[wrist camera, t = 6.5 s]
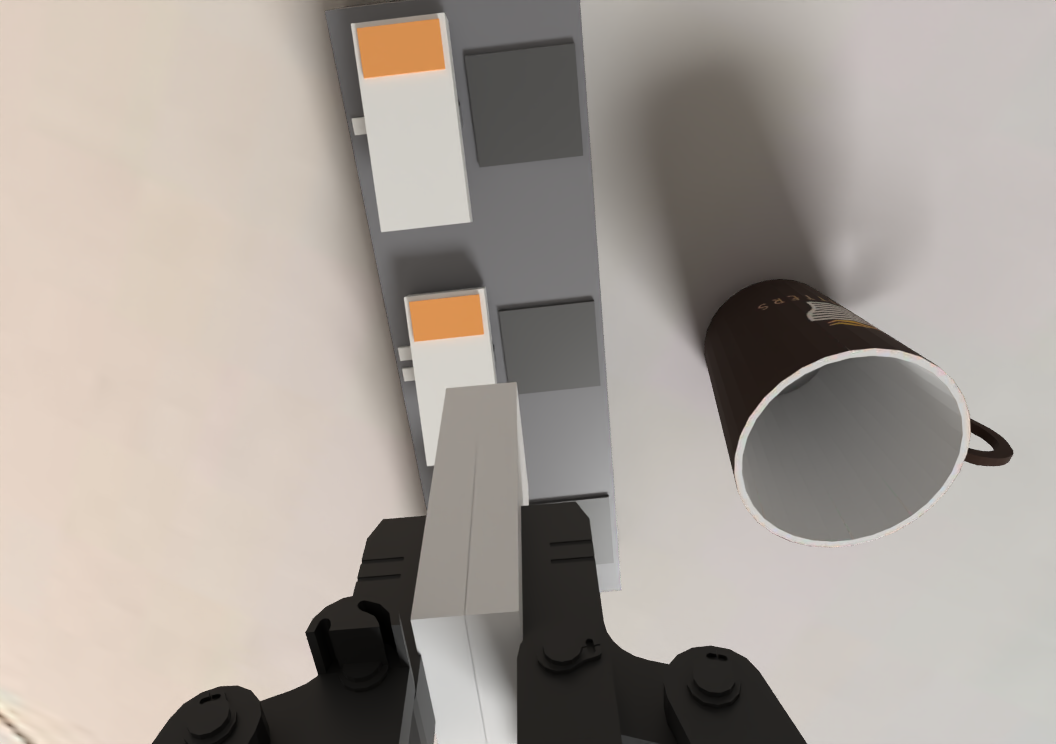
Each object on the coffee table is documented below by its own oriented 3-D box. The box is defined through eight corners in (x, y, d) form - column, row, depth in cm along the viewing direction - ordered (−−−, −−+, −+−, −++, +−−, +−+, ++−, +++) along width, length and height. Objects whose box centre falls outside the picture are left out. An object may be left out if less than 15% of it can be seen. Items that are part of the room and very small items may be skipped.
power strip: (343, 7, 31) (319, 11, 27) (571, -21, 31) (580, -20, 27) (471, 666, 47) (467, 728, 43) (621, 651, 47) (631, 713, 43)
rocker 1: (358, 31, 28) (349, 22, 26) (448, 20, 28) (444, 11, 26) (387, 231, 29) (380, 232, 28) (472, 221, 29) (469, 222, 28)
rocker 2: (408, 295, 32) (403, 297, 31) (485, 286, 32) (483, 288, 31) (430, 458, 34) (426, 467, 32) (505, 450, 34) (504, 459, 32)
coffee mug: (644, 359, 38) (686, 476, 29) (770, 218, 35) (859, 301, 26) (811, 476, 41) (894, 613, 33) (939, 357, 38) (1069, 473, 30)
